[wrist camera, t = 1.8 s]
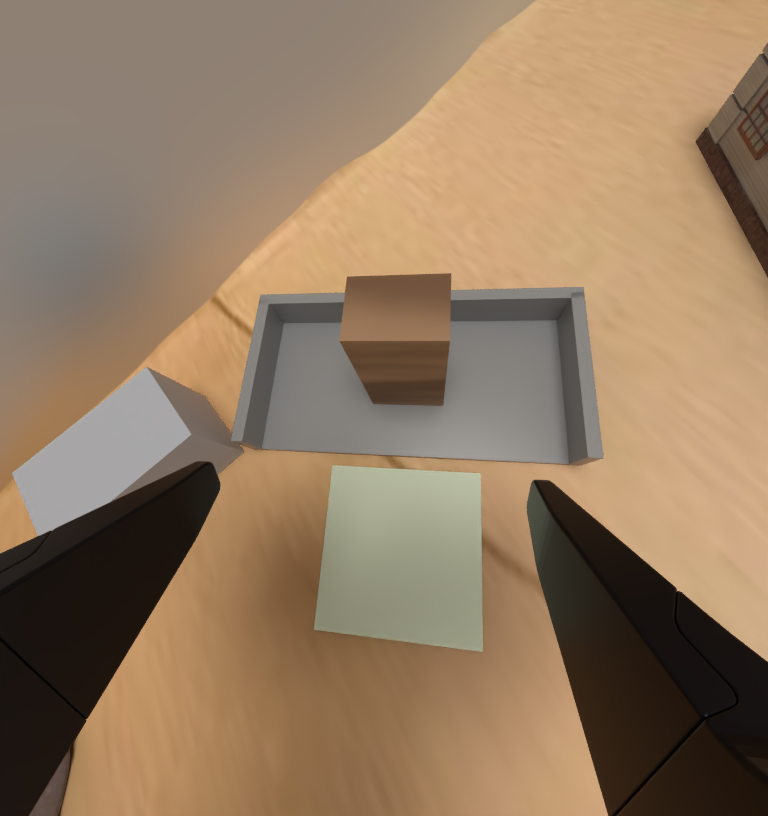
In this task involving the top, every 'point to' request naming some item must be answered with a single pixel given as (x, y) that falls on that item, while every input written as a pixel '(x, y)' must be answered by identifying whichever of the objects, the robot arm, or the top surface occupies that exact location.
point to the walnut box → (399, 336)
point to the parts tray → (464, 390)
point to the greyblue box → (123, 449)
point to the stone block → (53, 791)
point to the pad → (403, 557)
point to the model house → (743, 154)
